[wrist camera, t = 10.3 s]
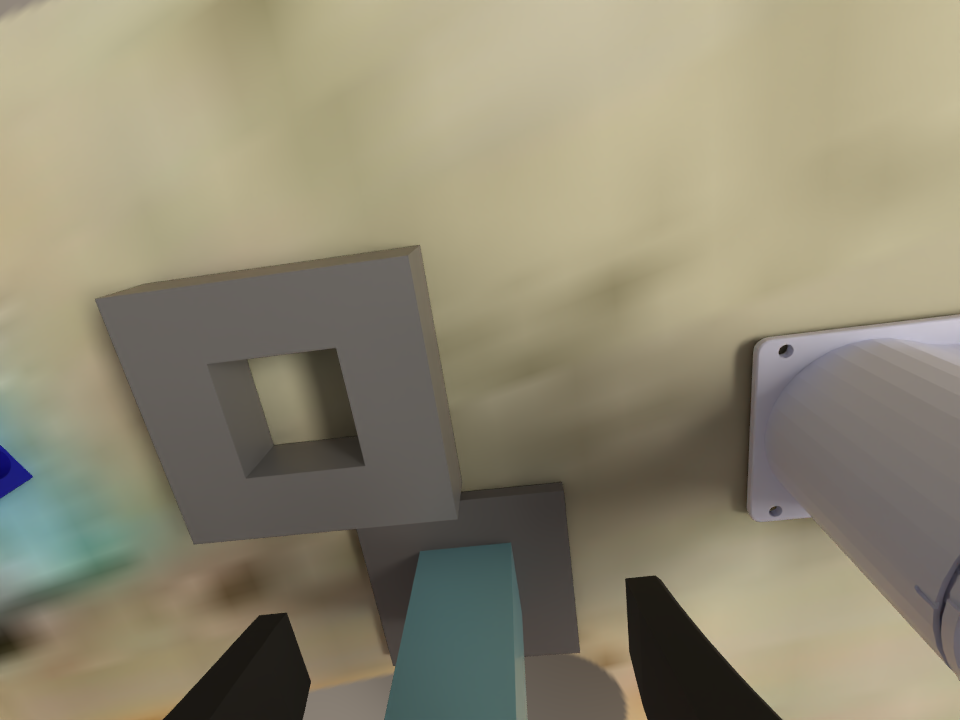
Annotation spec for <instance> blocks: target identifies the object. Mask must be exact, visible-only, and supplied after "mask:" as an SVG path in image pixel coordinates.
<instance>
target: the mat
mask: <svg viewBox="0 0 960 720" xmlns="http://www.w3.org/2000/svg"><path fill="white" fill-rule="evenodd" d="M356 530H357V533H358V537H359V541H360V544H361V548H362V552H363V556H364V559H365V563H366V567H367V570H368V574H369V578H370V582H371V585H372V589H373V593H374V596H375V600H376V604H377V608H378V611H379V615H380V619H381V622H382V626H383V630H384V634H385V637H386V641H387V645H388V648H389V652H390V656H391V660H392V663H393V666H396V662H397V657H398V653H399V648H400V643H401V638H402V634H403V629H404V624H405V620H406V615H407V610H408V606H409V601H410V596H411V591H412V587H413V582H414V577H415V573H416V568H417V563H418V559H419V554H420V551H428V550H438V549H449V548H459V547H470V546H480V545H491V544H501V543H511V546H512V552H513V559H514V565H515V572H516V578H517V584H518V591H519V597H520V604H521V610H522V623H523V643H524V657H526V656H539V655H554V654H568V653H580V647H579V637H578V627H577V617H576V607H575V597H574V587H573V577H572V567H571V557H570V547H569V538H568V528H567V518H566V508H565V498H564V489H563V484H562V482H559V483H549V484H539V485H529V486H519V487H508V488H498V489H488V490H478V491H468V492H461V495H460V503H459V511H458V519H456V520H445V521H435V522H424V523H414V524H403V525H393V526H382V527H372V528H361V529H356Z"/></svg>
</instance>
